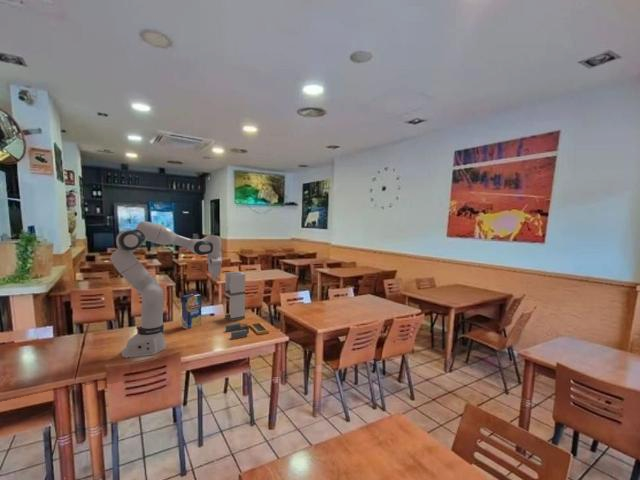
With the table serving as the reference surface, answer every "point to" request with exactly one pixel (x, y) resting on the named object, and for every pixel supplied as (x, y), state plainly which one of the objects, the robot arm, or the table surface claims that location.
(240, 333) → the grey parallel walls
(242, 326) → the walnut block
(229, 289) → the grey toy tower
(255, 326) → the tray
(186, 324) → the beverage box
